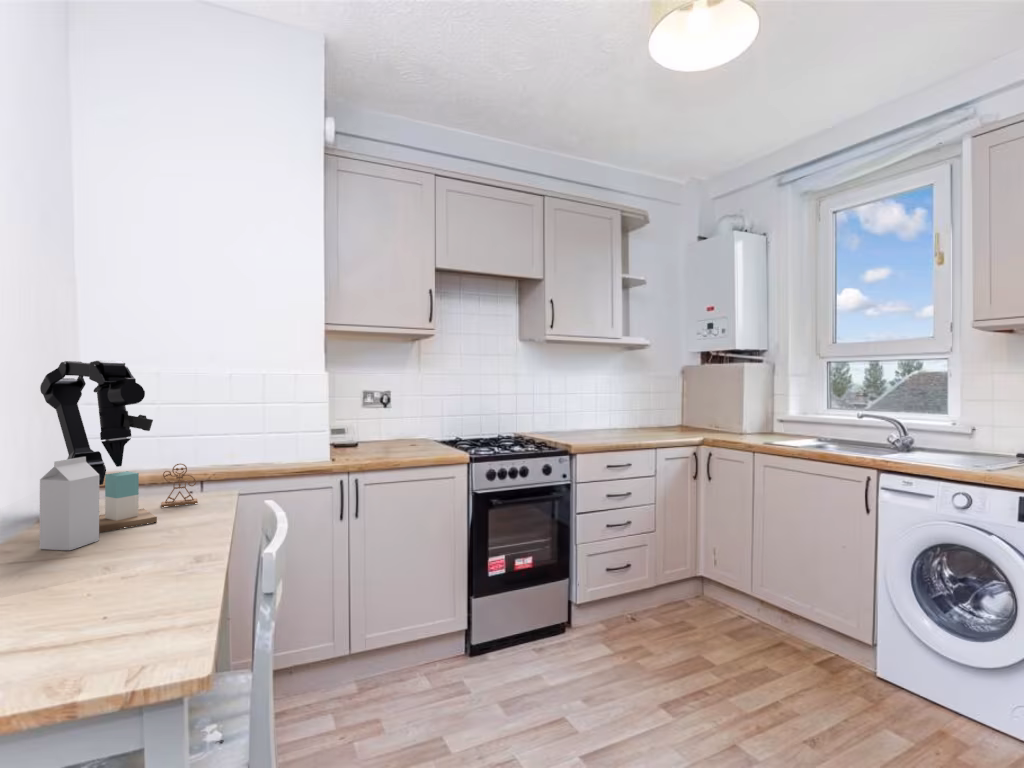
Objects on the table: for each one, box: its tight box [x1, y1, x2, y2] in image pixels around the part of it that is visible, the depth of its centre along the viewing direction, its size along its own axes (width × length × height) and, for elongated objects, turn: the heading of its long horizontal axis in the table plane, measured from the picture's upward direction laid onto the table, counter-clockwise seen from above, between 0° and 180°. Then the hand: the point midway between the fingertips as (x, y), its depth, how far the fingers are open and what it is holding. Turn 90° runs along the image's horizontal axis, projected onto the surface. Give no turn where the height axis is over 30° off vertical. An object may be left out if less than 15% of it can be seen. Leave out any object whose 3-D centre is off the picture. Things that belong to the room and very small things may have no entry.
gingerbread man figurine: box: [160, 462, 199, 508], centre depth 150 cm, size 9×4×12 cm, turn 124°
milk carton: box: [39, 457, 100, 551], centre depth 113 cm, size 7×7×19 cm
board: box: [99, 508, 158, 533], centre depth 131 cm, size 12×12×2 cm
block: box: [104, 470, 140, 521], centre depth 130 cm, size 5×5×11 cm
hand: (118, 465), depth 137 cm, fingers open, 9 cm apart
